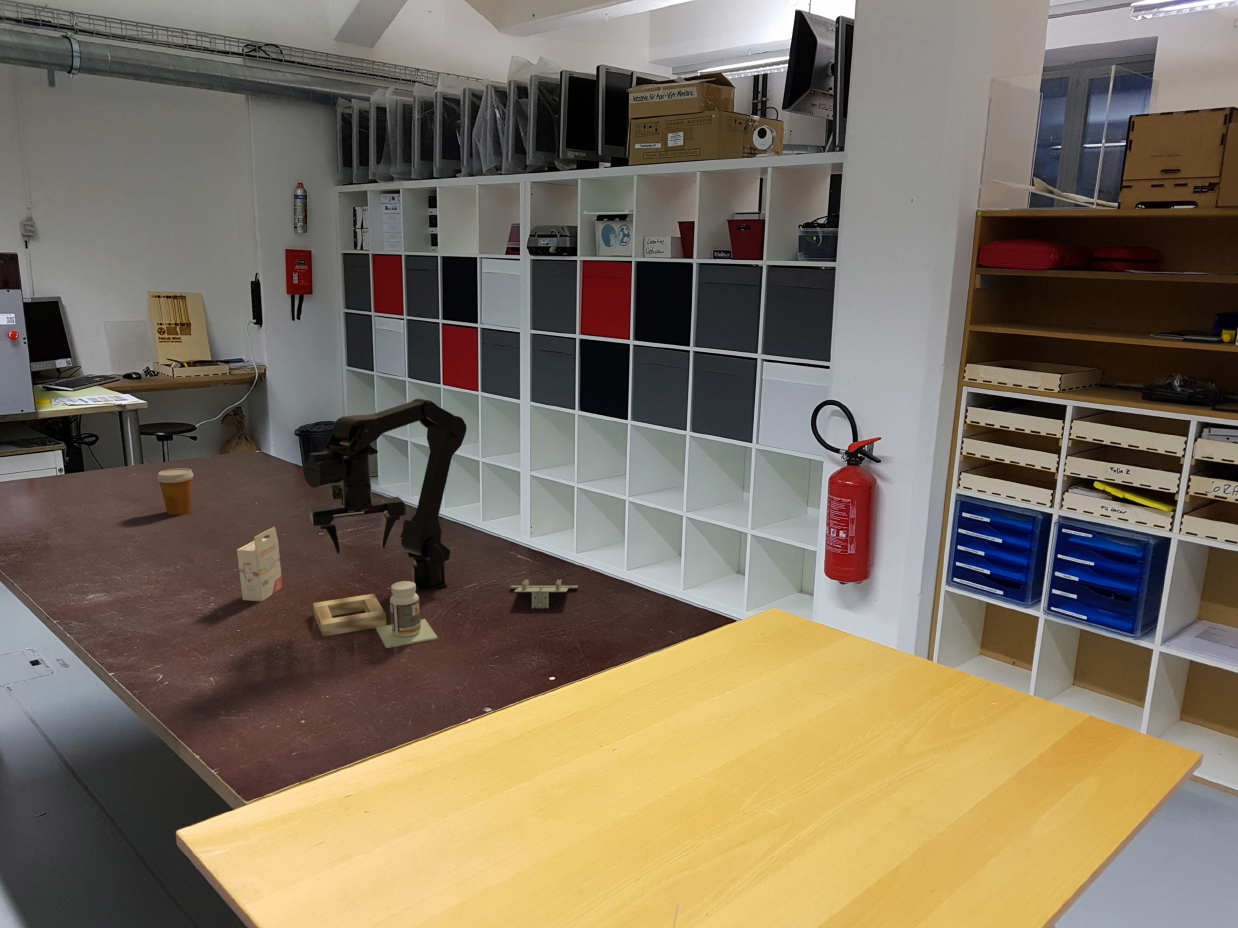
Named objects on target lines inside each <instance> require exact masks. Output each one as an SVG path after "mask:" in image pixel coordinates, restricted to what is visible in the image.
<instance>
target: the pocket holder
mask: <svg viewBox="0 0 1238 928" xmlns="http://www.w3.org/2000/svg"><path fill="white" fill-rule="evenodd" d="M312 604H313V605H312V606H313V615H314V618H315V621H316V623H317V626H318V629H319V631H320V633H321V636H322V637H329V636H334V635H335V636H336V635H340V634H346V633H353V632H358V631H364V630H369V629H376V627H380V626H386V625H387V615H386V611H385V610H384V609H383V607H382V605H381V604H380V602H379V600H378V598H377V597H376V595H375V593H369V594H363V595H354V596H351V597H344V598H338V599H331V600H324V601H319V602H318V601H317V602H313V603H312ZM363 611H364V613H363ZM357 612H358V613H357ZM359 612H362V613H359ZM351 613H357V614H352V615H351ZM346 614H348V615H346ZM349 614H350V615H349ZM340 615H345V616H340ZM333 616H337V617H333Z"/></svg>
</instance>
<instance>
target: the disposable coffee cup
mask: <svg viewBox="0 0 1238 928" xmlns="http://www.w3.org/2000/svg"><path fill="white" fill-rule="evenodd" d="M193 478H194V473H193V470H192V469H191V468H188V467H187V468H186V467H185V468H184V467H183V468H182V467H181V468H179V467H177V468H169V469H164V470H160V471H159V472H158V474H157V476H156V479H157V480H158V482H159V486H160V490H161V493H162V494H161V495H162V498H163V501H164V506H165V509H166V513H167V514H168V515H169V516H180V515H181V516H182V515H187V514H189V513H190V512H191V513H192V503H193V500H192V499H193V494H192V492H193Z"/></svg>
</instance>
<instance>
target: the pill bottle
mask: <svg viewBox="0 0 1238 928" xmlns="http://www.w3.org/2000/svg"><path fill="white" fill-rule="evenodd" d="M390 588H391V590H390V591H391V593H392V594H391V597H390V598H389V610H390V611H389V612H390V623H391V624H390V625H391V627H392V633H393V634H394V635H396V636H400V637H408V636H413V635H415V634H417V633H418V632H419V631H420V630H421V622H420V620H421V610H420V597H419V595H418V594H417V593H416V590H417V587H416V585H415V583H414V582H412V580H411V581H410V580H403V581H396V582H395V583H392V585H391V586H390Z"/></svg>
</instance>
